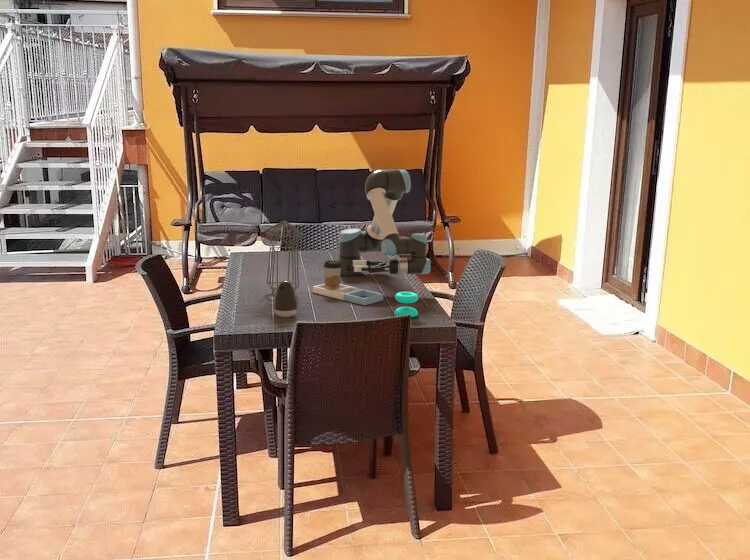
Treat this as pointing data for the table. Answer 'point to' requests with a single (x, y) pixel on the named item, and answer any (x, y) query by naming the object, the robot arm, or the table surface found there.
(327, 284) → the coffee cup
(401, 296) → the donuts
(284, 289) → the pump dispenser
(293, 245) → the geometric lantern
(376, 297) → the gap frame
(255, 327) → the table surface
